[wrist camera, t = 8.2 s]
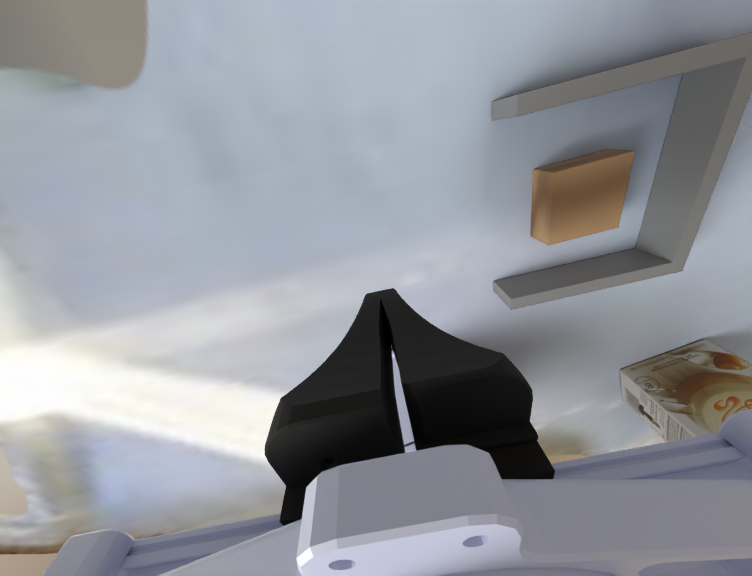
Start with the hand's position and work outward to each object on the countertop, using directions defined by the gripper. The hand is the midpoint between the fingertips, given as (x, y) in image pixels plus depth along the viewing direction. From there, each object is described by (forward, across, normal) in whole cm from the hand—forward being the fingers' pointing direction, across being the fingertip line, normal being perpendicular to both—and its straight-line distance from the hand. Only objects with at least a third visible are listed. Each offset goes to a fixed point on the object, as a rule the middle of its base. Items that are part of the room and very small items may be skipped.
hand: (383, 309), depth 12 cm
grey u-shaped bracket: (+9, -15, 0) cm, 18 cm away
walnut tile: (+10, -15, 0) cm, 18 cm away
